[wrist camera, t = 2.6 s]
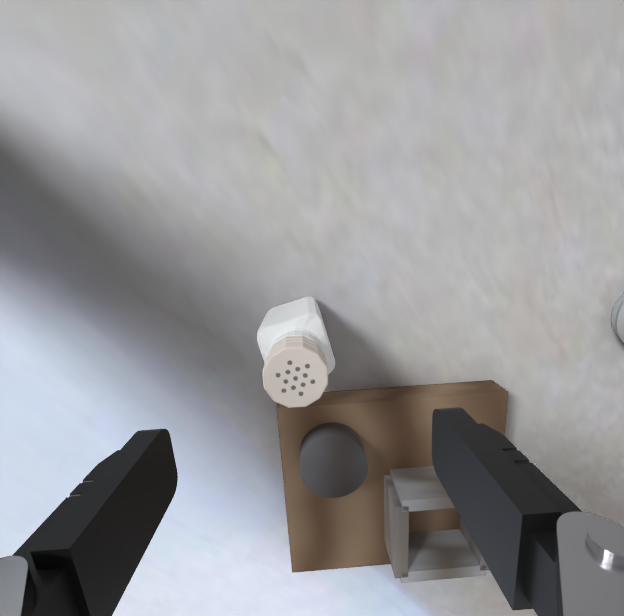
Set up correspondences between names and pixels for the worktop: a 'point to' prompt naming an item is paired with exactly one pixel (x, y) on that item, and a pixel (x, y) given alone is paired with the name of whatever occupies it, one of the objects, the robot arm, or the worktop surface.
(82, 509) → the robot arm
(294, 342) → the salt shaker
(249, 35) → the worktop surface
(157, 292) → the worktop surface
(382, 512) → the carrier board
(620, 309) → the energy drink can
